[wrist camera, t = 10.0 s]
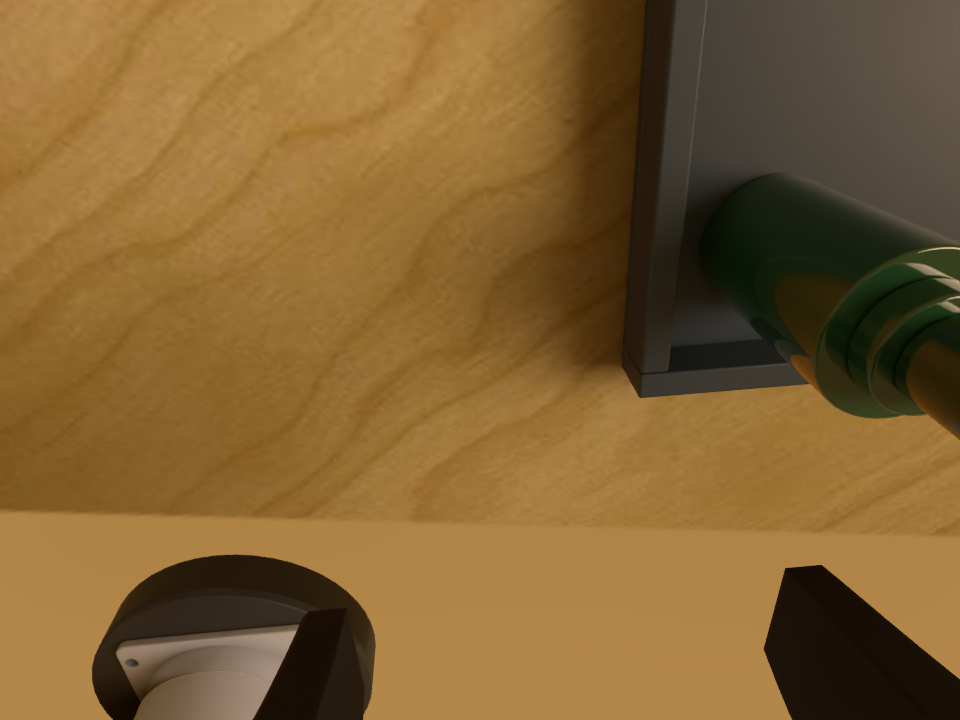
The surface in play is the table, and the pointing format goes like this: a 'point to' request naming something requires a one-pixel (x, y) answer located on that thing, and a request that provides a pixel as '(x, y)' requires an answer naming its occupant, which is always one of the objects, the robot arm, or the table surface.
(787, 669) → the robot arm
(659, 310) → the tray
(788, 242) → the bottle
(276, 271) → the table surface
